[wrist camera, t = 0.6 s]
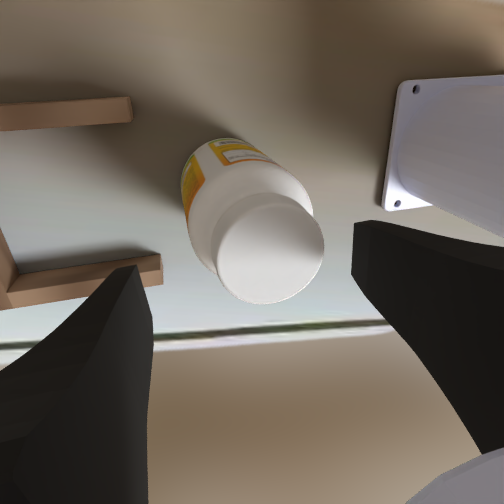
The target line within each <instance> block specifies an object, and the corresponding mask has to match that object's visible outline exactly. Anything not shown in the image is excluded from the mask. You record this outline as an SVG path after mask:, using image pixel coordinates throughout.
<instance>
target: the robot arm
mask: <svg viewBox="0 0 504 504" xmlns="http://www.w3.org/2000/svg"><path fill="white" fill-rule="evenodd" d="M414 86H416V91H415V92H414V93H413V92H412V89H413V87H414ZM396 201H398V202H397V204H396V205H394V203H395V202H396ZM432 205H434V206H436V207H438V208H440V209H442V210H444V211H447V212H449V213H451V214H453V215H455V216H457V217H459V218H462V219H464V220H466V221H468V222H470V223H472V224H474V225H477V226H479V227H481V228H483V229H485V230H487V231H489V232H492V233H494V234H496V235H498V236H500V237H502V238H504V75H489V76H472V77H455V78H438V79H421V80H406V81H403V82H402V83H401V84H400V85H399V87H398V90H397V97H396V104H395V111H394V118H393V126H392V133H391V140H390V147H389V154H388V161H387V168H386V175H385V182H384V189H383V196H382V203H381V206H382V208H383V209H384V210H386V211H396V210H403V209H410V208H417V207H425V206H432ZM351 275H352V277H353V278H354V280H355V281H356V283H357V285H358V286H359V288H360V289H361V291H362V292H363V294H364V295H365V296H366V298H367V299H368V300H369V301H370V302H371V303H372V305H373V306H374V307H375V308H376V309H377V310H378V311H379V312H380V314H381V315H382V316H383V317H384V318H385V319H386V320H387V321H388V322H389V324H390V325H391V326H392V327H393V328H394V329H395V330H396V331H397V332H398V334H399V335H400V336H401V337H402V338H403V339H404V340H405V341H406V342H407V344H408V345H409V346H410V347H411V348H412V350H413V351H414V352H415V353H416V355H417V356H418V357H419V359H420V360H421V361H422V363H423V364H424V366H425V367H426V368H427V370H428V371H429V373H430V374H431V375H432V377H433V378H434V380H435V381H436V382H437V384H438V385H439V387H440V388H441V390H442V391H443V393H444V394H445V396H446V397H447V399H448V400H449V402H450V403H451V405H452V406H453V408H454V409H455V411H456V412H457V414H458V416H459V417H460V419H461V421H462V422H463V424H464V425H465V427H466V428H467V430H468V432H469V433H470V435H471V437H472V438H473V440H474V442H475V443H476V445H477V447H478V448H479V450H480V452H481V454H482V455H480V456H478V457H476V458H474V459H472V460H470V461H468V462H466V463H464V464H462V465H459V466H457V467H455V468H453V469H451V470H449V471H447V472H445V473H443V474H441V475H439V476H438V477H437V478H435V479H434V480H433V481H432V482H431V483H429V484H428V485H427V486H426V487H424V488H423V489H422V490H421V491H419V492H418V493H417V494H416V495H415V496H413V497H412V498H411V499H410V500H408V501H407V502H406V504H504V247H499V246H493V245H486V244H480V243H474V242H469V241H464V240H459V239H454V238H450V237H445V236H441V235H437V234H432V233H428V232H424V231H420V230H416V229H412V228H408V227H404V226H400V225H396V224H392V223H387V222H382V221H376V220H368V221H363V222H357V223H354V233H353V251H352V268H351ZM153 346H154V342H153V321H152V314H151V311H150V308H149V304H148V301H147V297H146V294H145V291H144V287H143V284H142V280H141V277H140V274H139V270H138V267H137V264H135V265H130V266H125V267H120V268H116V269H115V270H114V271H113V272H112V273H111V274H110V275H109V276H108V277H107V278H106V279H105V280H104V281H103V282H102V283H101V284H100V285H99V287H98V288H97V289H96V290H95V291H94V292H93V293H92V294H91V295H90V296H89V297H88V298H87V299H86V300H85V301H84V302H83V303H82V304H81V305H80V306H79V307H78V308H77V309H76V310H75V311H74V312H73V313H72V314H71V315H70V316H69V317H68V318H67V319H66V320H65V321H64V322H63V323H62V324H61V325H59V326H58V327H57V328H56V329H55V330H54V331H53V332H52V333H50V334H49V335H48V336H47V337H46V338H44V339H43V340H42V341H41V342H39V343H38V344H37V345H36V346H34V347H33V348H32V349H30V350H29V351H28V352H27V353H25V354H24V355H23V356H21V357H20V358H18V359H17V360H15V361H14V362H13V363H11V364H10V365H8V366H7V367H5V368H4V369H3V370H1V371H0V504H148V476H147V475H148V472H147V411H148V400H149V389H150V379H151V369H152V357H153Z"/></svg>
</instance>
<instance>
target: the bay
mask: <svg viewBox="0 0 504 504" xmlns="http://www.w3.org/2000/svg"><path fill="white" fill-rule="evenodd" d="M133 118H134V115H133V110H132V105H131V100H130V96H127V97H110V98H93V99H76V100H59V101H42V102H25V103H8V104H0V131H13V130H27V129H41V128H55V127H68V126H82V125H96V124H110V123H124V122H131V121H132V120H133ZM135 264H137V267H138V270H139V274H140V277H141V280H142V284H143V287H150V286H156V285H162V284H163V265H162V260H161V255H160V254H158V255H151V256H144V257H137V258H130V259H123V260H116V261H109V262H102V263H95V264H88V265H82V266H75V267H68V268H61V269H54V270H47V271H40V272H33V273H26V274H20V273H19V271H18V268H17V266H16V264H15V261H14V259H13V257H12V254H11V252H10V250H9V247H8V245H7V243H6V240H5V238H4V236H3V233H2V231H1V229H0V311H1V310H7V309H13V308H19V307H26V306H32V305H38V304H44V303H50V302H57V301H63V300H69V299H75V298H81V297H88V296H90V295H91V294H92V293H93V292H94V291H95V290H96V289H97V288H98V287H99V285H100V284H101V283H102V282H103V281H104V280H105V279H106V278H107V277H108V276H109V275H110V274H111V273H112V272H113V271H114V270H115V269H116V268H120V267H125V266H130V265H135Z"/></svg>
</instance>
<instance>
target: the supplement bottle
mask: <svg viewBox="0 0 504 504" xmlns="http://www.w3.org/2000/svg"><path fill="white" fill-rule="evenodd" d="M181 195H182V200H183V205H184V210H185V216H186V222H187V228H188V233H189V237H190V241H191V244H192V247H193V249H194V251H195V253H196V255H197V257H198V258H199V260H200V261H201V262H202V263H203V264H204V266H205V267H207V268H208V269H209V270H210V271H211V272H213V273H214V274H216V275H218V277H219V279H220V281H221V283H222V284H223V286H224V287H225V288H226V289H227V290H228V291H229V292H230V293H231V294H232V295H233V296H235V297H236V298H238V299H240V300H242V301H245V302H248V303H253V304H271V303H276V302H279V301H283V300H285V299H288V298H290V297H292V296H293V295H295V294H297V293H298V292H299V291H301V290H302V289H303V288H304V287H306V286H307V285H308V284H309V282H310V281H311V280H312V279H313V277H314V276H315V275H316V273H317V271H318V269H319V267H320V265H321V262H322V258H323V254H324V240H323V235H322V232H321V229H320V227H319V225H318V223H317V222H316V220H315V219H314V218H313V210H312V205H311V201H310V199H309V196H308V194H307V192H306V191H305V189H304V187H303V186H302V185H301V183H300V182H299V181H298V180H297V179H296V178H295V177H294V176H293V175H292V174H290V173H289V172H288V171H287V170H285V169H284V168H283V167H281V166H280V165H278V164H277V163H276V162H274V161H273V160H272V159H270V158H269V157H268V156H266V155H265V154H263V153H262V152H261V151H259V150H258V149H257V148H255V147H254V146H252V145H250V144H248V143H246V142H244V141H241V140H238V139H234V138H220V139H216V140H212V141H209V142H207V143H205V144H204V145H202V146H200V147H199V148H198V149H197V150H196V151H194V152H193V154H192V155H191V156H190V157H189V159H188V160H187V162H186V164H185V166H184V169H183V172H182V176H181Z"/></svg>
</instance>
